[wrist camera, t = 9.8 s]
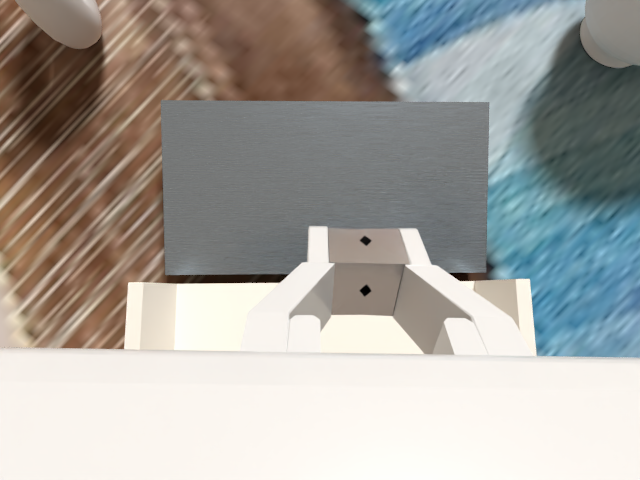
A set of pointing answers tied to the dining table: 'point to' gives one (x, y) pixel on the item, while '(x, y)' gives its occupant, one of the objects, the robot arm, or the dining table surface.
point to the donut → (66, 20)
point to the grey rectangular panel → (320, 180)
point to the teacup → (612, 32)
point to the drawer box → (239, 298)
